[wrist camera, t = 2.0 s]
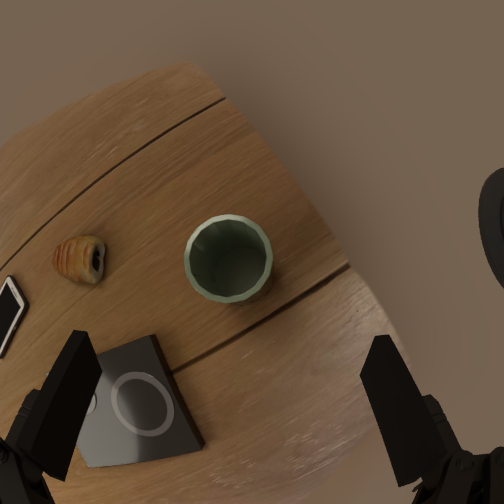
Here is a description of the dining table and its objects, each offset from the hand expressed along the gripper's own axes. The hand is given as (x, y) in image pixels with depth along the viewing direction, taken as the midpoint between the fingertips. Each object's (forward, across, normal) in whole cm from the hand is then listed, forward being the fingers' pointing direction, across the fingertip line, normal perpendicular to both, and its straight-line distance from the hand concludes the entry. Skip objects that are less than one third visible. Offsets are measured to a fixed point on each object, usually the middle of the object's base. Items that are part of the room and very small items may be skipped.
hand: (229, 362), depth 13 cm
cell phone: (+21, -41, -19) cm, 50 cm away
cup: (+22, +1, -9) cm, 24 cm away
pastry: (+26, -22, -9) cm, 35 cm away
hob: (+13, -16, -25) cm, 32 cm away
